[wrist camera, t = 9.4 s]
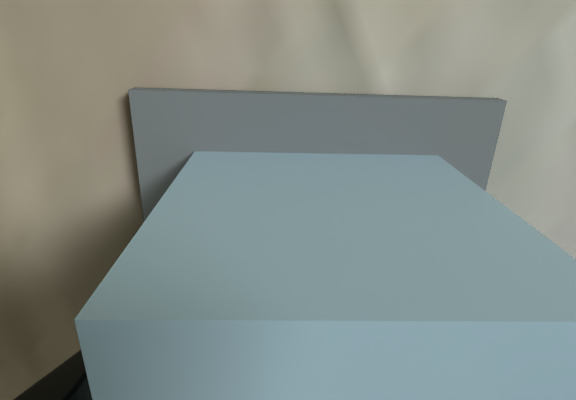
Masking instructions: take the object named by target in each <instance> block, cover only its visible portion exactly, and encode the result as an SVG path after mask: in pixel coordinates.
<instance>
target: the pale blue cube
mask: <svg viewBox="0 0 576 400" xmlns="http://www.w3.org/2000/svg"><path fill="white" fill-rule="evenodd" d="M74 321H75V325H76V330H77V334H78V339H79V343H80V347H81V352H82V356H83V360H84V365H85V369H86V374H87V378H88V382H89V387H90V391H91V395H92V400H576V259H574V258H573V257H572V256H570V255H569V254H568V253H566V252H565V251H564V250H563V249H561V248H560V247H559V246H557V245H556V244H555V243H553V242H552V241H551V240H549V239H548V238H547V237H545V236H544V235H543V234H541V233H540V232H539V231H537V230H536V229H535V228H533V227H532V226H531V225H530V224H528V223H527V222H526V221H524V220H523V219H522V218H520V217H519V216H518V215H516V214H515V213H514V212H512V211H511V210H510V209H508V208H507V207H506V206H504V205H503V204H502V203H500V202H499V201H498V200H497V199H495V198H494V197H493V196H491V195H490V194H489V193H487V192H486V191H485V190H483V189H482V188H481V187H479V186H478V185H477V184H475V183H474V182H473V181H471V180H470V179H469V178H467V177H466V176H465V175H463V174H462V173H461V172H460V171H458V170H457V169H456V168H454V167H453V166H452V165H450V164H449V163H448V162H446V161H445V160H444V159H442V158H441V157H440V156H438V155H387V154H328V153H269V152H209V151H195V152H194V153H193V154H192V156H191V157H190V159H189V160H188V161H187V163H186V164H185V166H184V167H183V168H182V170H181V171H180V173H179V174H178V175H177V177H176V178H175V180H174V181H173V182H172V184H171V185H170V187H169V188H168V189H167V191H166V192H165V194H164V195H163V196H162V198H161V199H160V201H159V202H158V203H157V205H156V206H155V207H154V209H153V210H152V212H151V213H150V214H149V216H148V217H147V219H146V220H145V221H144V223H143V224H142V226H141V227H140V228H139V230H138V231H137V233H136V234H135V235H134V237H133V238H132V240H131V241H130V242H129V244H128V245H127V247H126V248H125V249H124V251H123V252H122V254H121V255H120V256H119V258H118V259H117V261H116V262H115V263H114V265H113V266H112V268H111V269H110V270H109V272H108V273H107V275H106V276H105V277H104V279H103V280H102V282H101V283H100V284H99V286H98V287H97V289H96V290H95V291H94V293H93V294H92V295H91V297H90V298H89V300H88V301H87V302H86V304H85V305H84V307H83V308H82V309H81V311H80V312H79V314H78V315H77V316H76V318H75V319H74Z"/></svg>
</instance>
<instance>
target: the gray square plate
mask: <svg viewBox="0 0 576 400" xmlns="http://www.w3.org/2000/svg"><path fill="white" fill-rule="evenodd" d="M128 93H129V101H130V109H131V118H132V126H133V134H134V143H135V151H136V159H137V168H138V176H139V184H140V193H141V201H142V209H143V218H144V221H145V220H146V219H147V217H148V216H149V214H150V213H151V212H152V210H153V209H154V207H155V206H156V205H157V203H158V202H159V201H160V199H161V198H162V196H163V195H164V194H165V192H166V191H167V189H168V188H169V187H170V185H171V184H172V182H173V181H174V180H175V178H176V177H177V175H178V174H179V173H180V171H181V170H182V168H183V167H184V166H185V164H186V163H187V161H188V160H189V159H190V157H191V156H192V154H193V153H194V152H195V151H209V152H269V153H328V154H387V155H438V156H440V157H441V158H442V159H444V160H445V161H446V162H448V163H449V164H450V165H452V166H453V167H454V168H456V169H457V170H458V171H460V172H461V173H462V174H463V175H465V176H466V177H467V178H469V179H470V180H471V181H473V182H474V183H475V184H477V185H478V186H479V187H481V188H482V189H483V190H486V186H487V181H488V177H489V173H490V169H491V165H492V161H493V156H494V152H495V148H496V144H497V140H498V136H499V131H500V127H501V123H502V119H503V115H504V111H505V106H506V102H507V101H505V100H502V99H498V98H474V97H440V96H406V95H372V94H338V93H304V92H271V91H237V90H203V89H169V88H132V89H129V90H128Z"/></svg>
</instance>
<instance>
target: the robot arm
mask: <svg viewBox="0 0 576 400" xmlns="http://www.w3.org/2000/svg"><path fill="white" fill-rule="evenodd" d="M14 400H92V395H91V391H90V387H89V382H88V378H87V374H86V369H85V365H84V360H83V356H82V352H81V350H80V351H78V352H77V353H76V354H74V355H73V356H72V357H70V358H69V359H68V360H66V361H65V362H64V363H62V364H61V365H59V366H58V367H57V368H55V369H54V370H53V371H51V372H50V373H49V374H47V375H46V376H45V377H43V378H42V379H41V380H39V381H38V382H37V383H35V384H34V385H32V386H31V387H30V388H28V389H27V390H26V391H24V392H23V393H22V394H20V395H19V396H18V397H16V398H15V399H14Z"/></svg>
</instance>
